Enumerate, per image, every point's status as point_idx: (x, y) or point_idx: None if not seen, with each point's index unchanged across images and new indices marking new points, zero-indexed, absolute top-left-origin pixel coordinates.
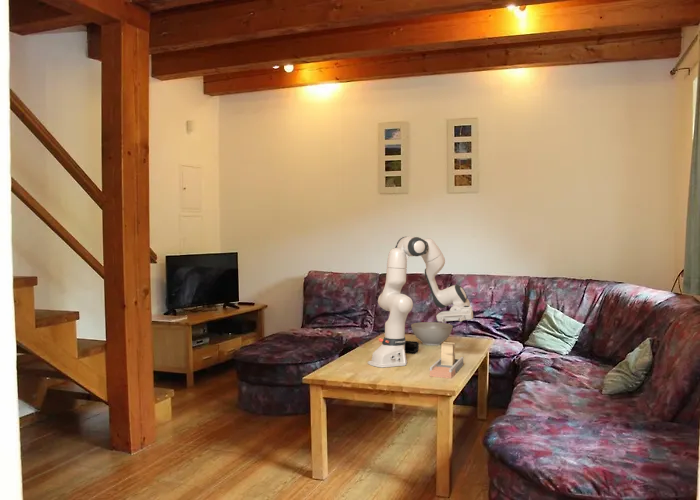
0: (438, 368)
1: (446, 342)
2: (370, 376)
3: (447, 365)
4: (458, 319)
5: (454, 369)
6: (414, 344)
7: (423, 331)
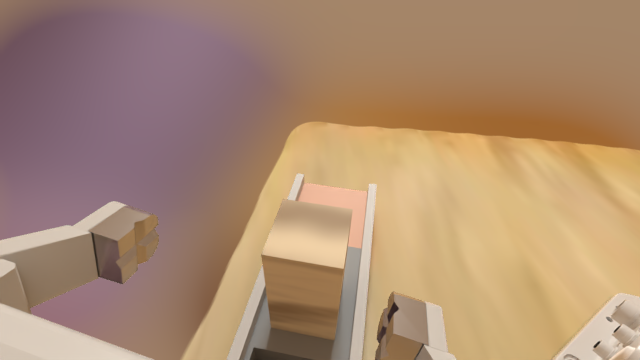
0: None
1: (323, 257)
2: (548, 183)
3: None
4: (155, 217)
5: None
6: None
7: None
